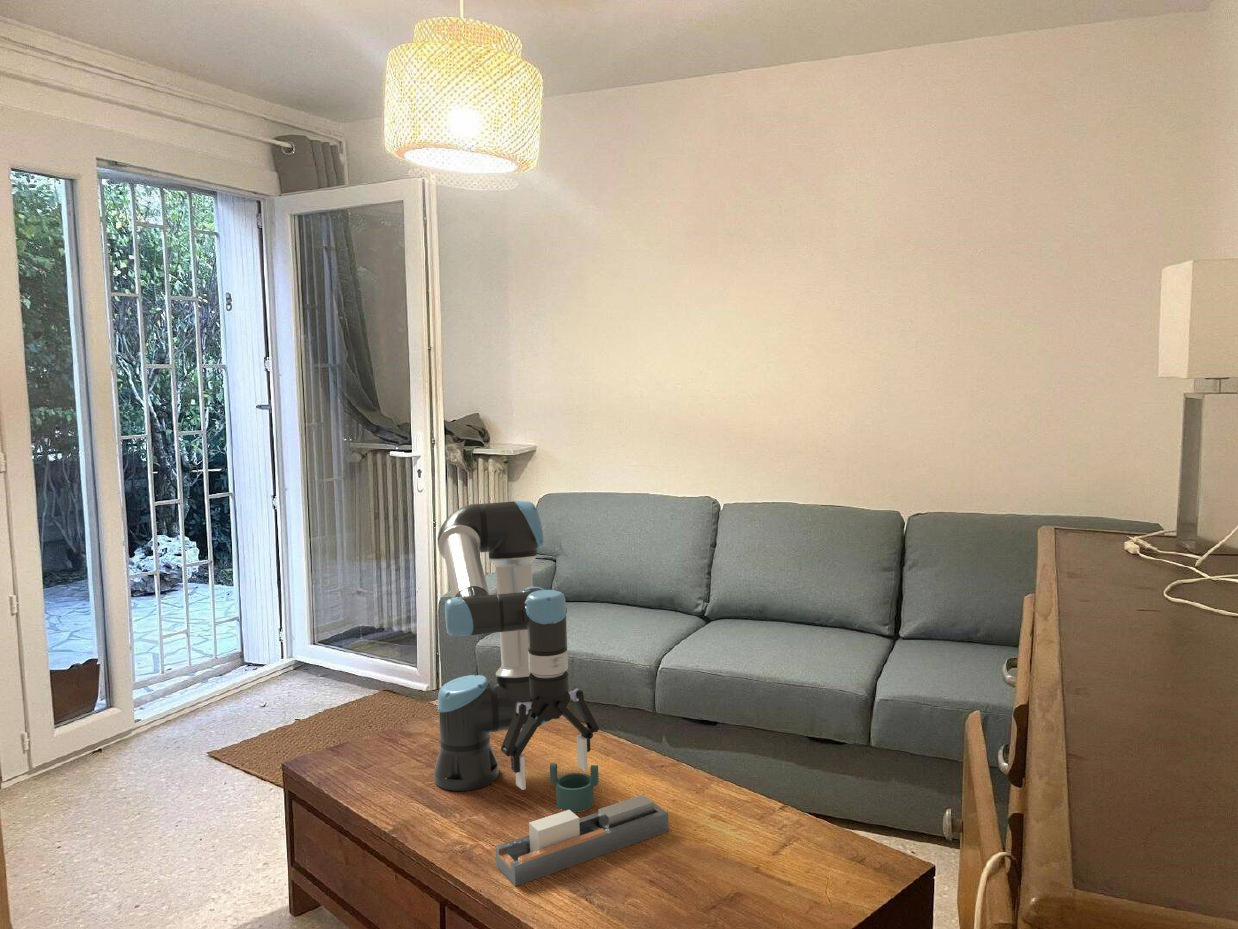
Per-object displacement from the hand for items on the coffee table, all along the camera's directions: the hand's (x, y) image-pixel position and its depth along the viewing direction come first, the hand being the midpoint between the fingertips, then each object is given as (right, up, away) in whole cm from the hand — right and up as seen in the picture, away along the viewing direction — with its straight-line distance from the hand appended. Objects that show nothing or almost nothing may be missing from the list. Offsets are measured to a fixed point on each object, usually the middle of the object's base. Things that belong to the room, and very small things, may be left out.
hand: (552, 777), depth 175 cm
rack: (+6, -16, +5) cm, 18 cm away
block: (+1, -17, +2) cm, 17 cm away
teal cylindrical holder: (+3, -14, +25) cm, 29 cm away
